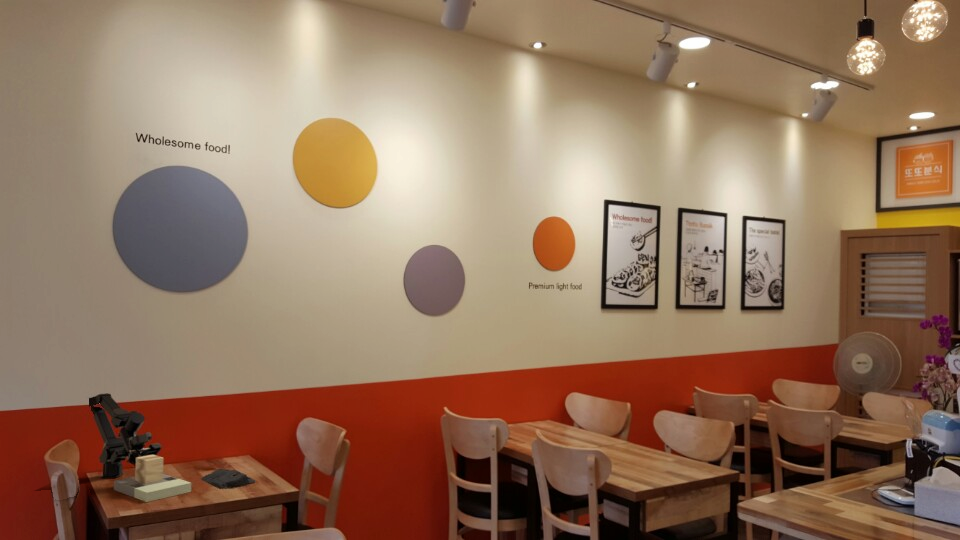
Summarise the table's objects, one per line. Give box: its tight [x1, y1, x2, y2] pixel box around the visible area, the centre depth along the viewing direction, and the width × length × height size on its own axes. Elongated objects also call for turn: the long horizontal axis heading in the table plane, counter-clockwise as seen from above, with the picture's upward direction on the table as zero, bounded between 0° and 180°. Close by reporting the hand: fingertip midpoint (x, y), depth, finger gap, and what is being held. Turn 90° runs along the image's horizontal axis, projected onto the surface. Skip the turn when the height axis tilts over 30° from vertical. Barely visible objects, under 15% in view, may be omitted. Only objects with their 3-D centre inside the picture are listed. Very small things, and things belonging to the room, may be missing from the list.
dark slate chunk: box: [200, 468, 256, 490], centre depth 296 cm, size 15×22×5 cm
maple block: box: [134, 455, 164, 484], centre depth 282 cm, size 8×7×9 cm
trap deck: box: [113, 473, 192, 503], centre depth 280 cm, size 25×18×4 cm
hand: (143, 470), depth 284 cm, fingers closed
